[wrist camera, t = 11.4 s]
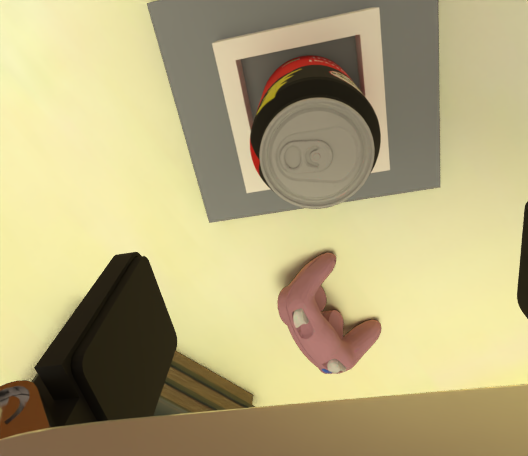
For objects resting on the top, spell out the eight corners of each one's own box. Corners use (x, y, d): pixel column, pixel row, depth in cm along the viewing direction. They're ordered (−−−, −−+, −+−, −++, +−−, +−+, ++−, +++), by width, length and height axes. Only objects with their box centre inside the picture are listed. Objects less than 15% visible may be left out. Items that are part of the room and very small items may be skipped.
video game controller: (292, 254, 38) (258, 313, 34) (334, 245, 35) (303, 308, 31) (345, 328, 42) (320, 390, 37) (387, 326, 39) (367, 393, 34)
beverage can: (352, 144, 31) (384, 217, 20) (265, 149, 31) (252, 222, 21) (354, 50, 28) (393, 78, 17) (259, 57, 28) (239, 88, 18)
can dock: (433, -63, 26) (451, -72, 23) (437, 183, 33) (451, 200, 30) (150, 3, 28) (133, 3, 25) (211, 218, 35) (203, 237, 32)
